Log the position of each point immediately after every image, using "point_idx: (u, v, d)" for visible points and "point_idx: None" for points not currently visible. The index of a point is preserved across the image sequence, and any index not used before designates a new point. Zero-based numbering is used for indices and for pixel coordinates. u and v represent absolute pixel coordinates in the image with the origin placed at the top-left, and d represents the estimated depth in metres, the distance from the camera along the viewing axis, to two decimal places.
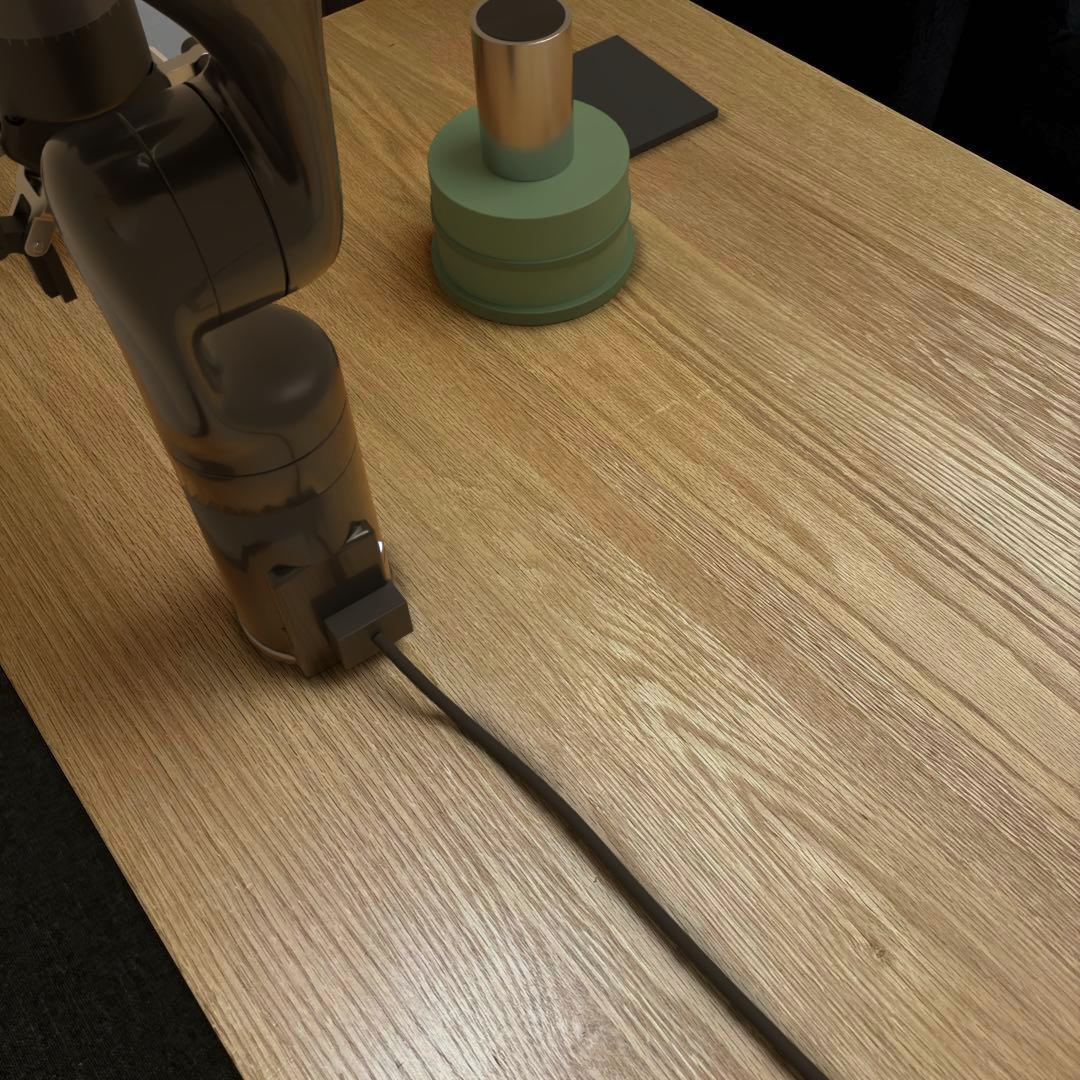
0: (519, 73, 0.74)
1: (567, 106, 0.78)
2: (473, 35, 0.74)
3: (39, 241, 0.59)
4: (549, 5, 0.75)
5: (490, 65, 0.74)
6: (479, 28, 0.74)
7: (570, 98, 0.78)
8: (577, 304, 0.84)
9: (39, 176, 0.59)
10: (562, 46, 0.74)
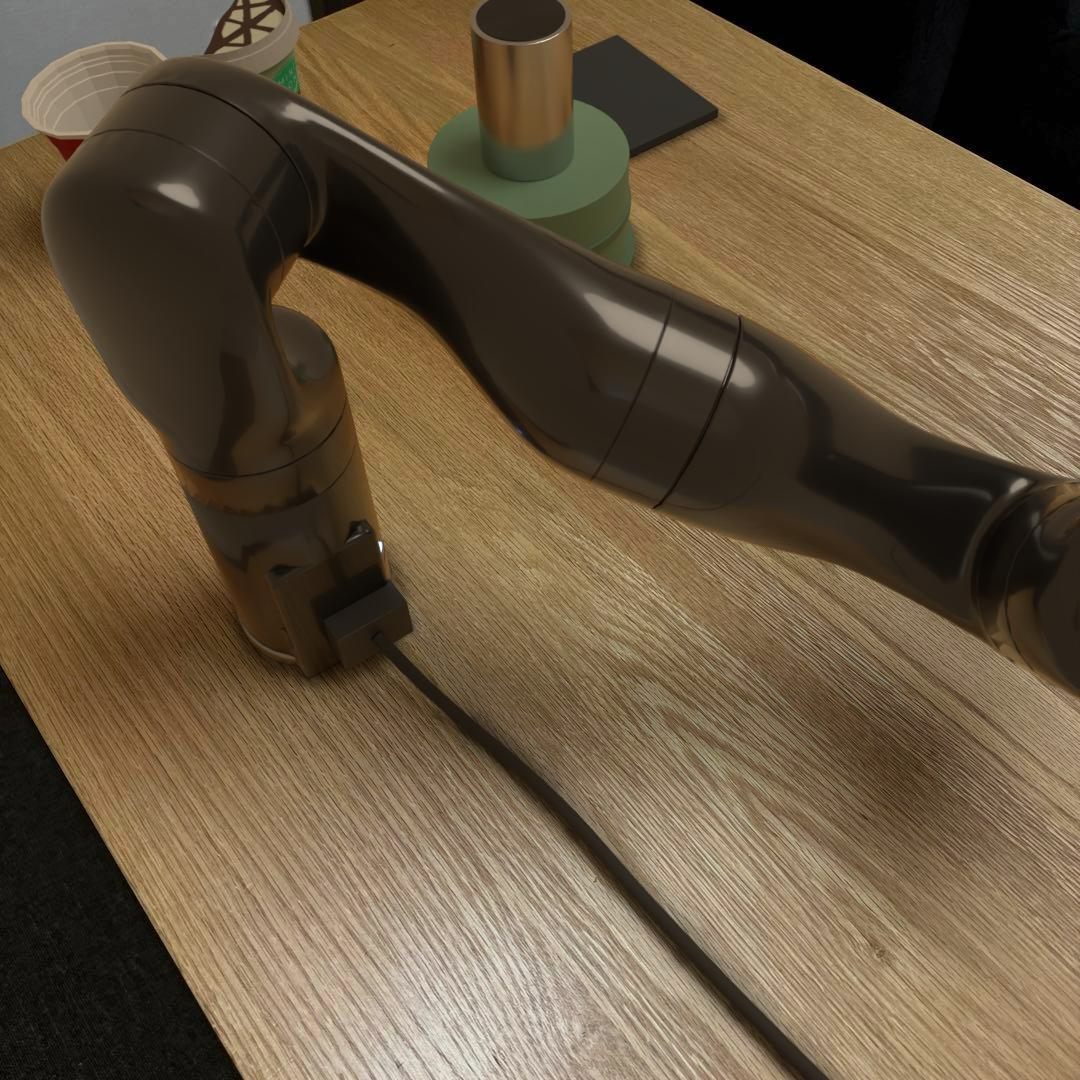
0: (519, 73, 0.74)
1: (567, 106, 0.78)
2: (473, 35, 0.74)
3: None
4: (549, 5, 0.75)
5: (490, 65, 0.74)
6: (479, 28, 0.74)
7: (570, 98, 0.78)
8: None
9: None
10: (562, 46, 0.74)
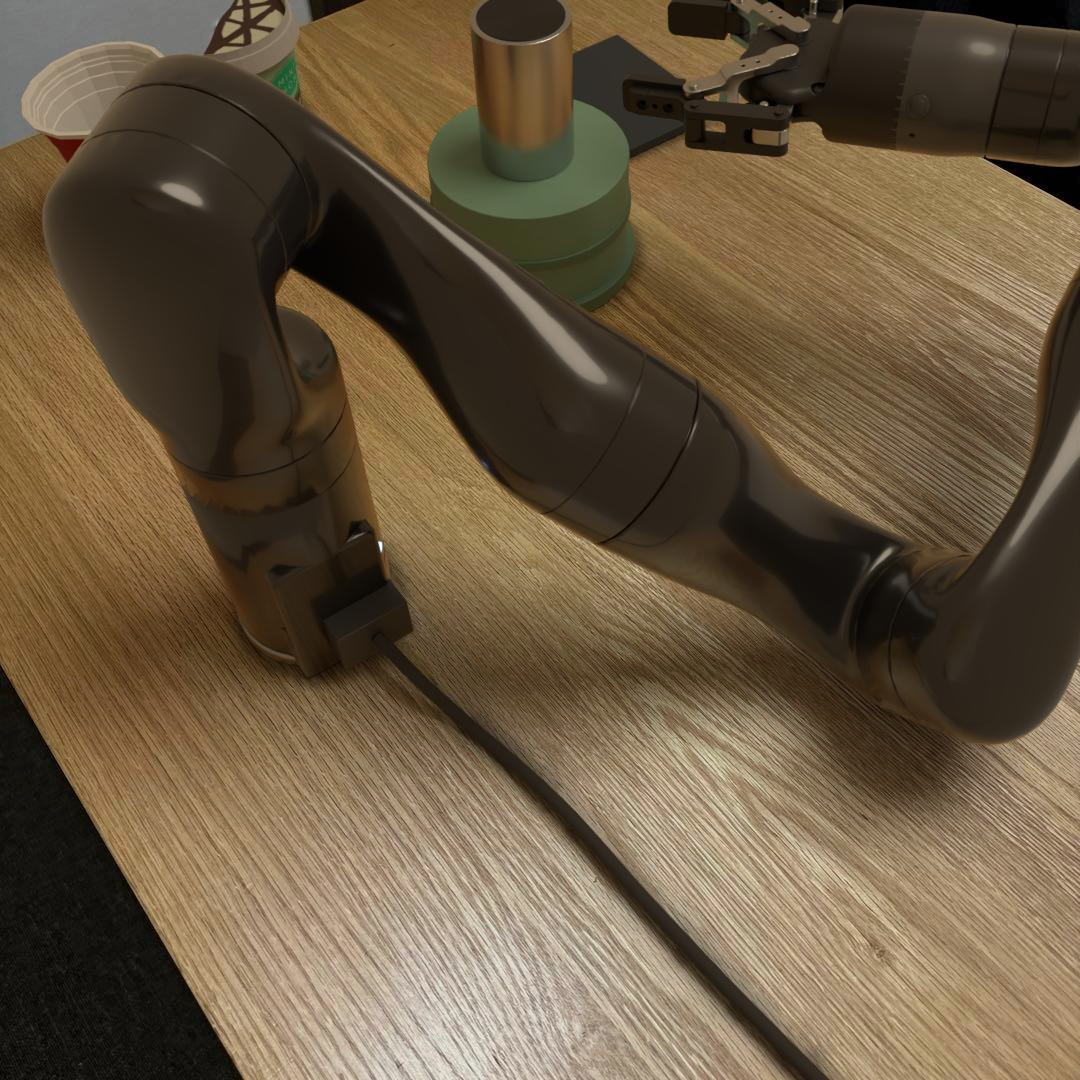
0: (519, 73, 0.74)
1: (567, 106, 0.78)
2: (473, 35, 0.74)
3: None
4: (549, 5, 0.75)
5: (490, 65, 0.74)
6: (479, 28, 0.74)
7: (570, 98, 0.78)
8: (577, 304, 0.84)
9: None
10: (562, 46, 0.74)
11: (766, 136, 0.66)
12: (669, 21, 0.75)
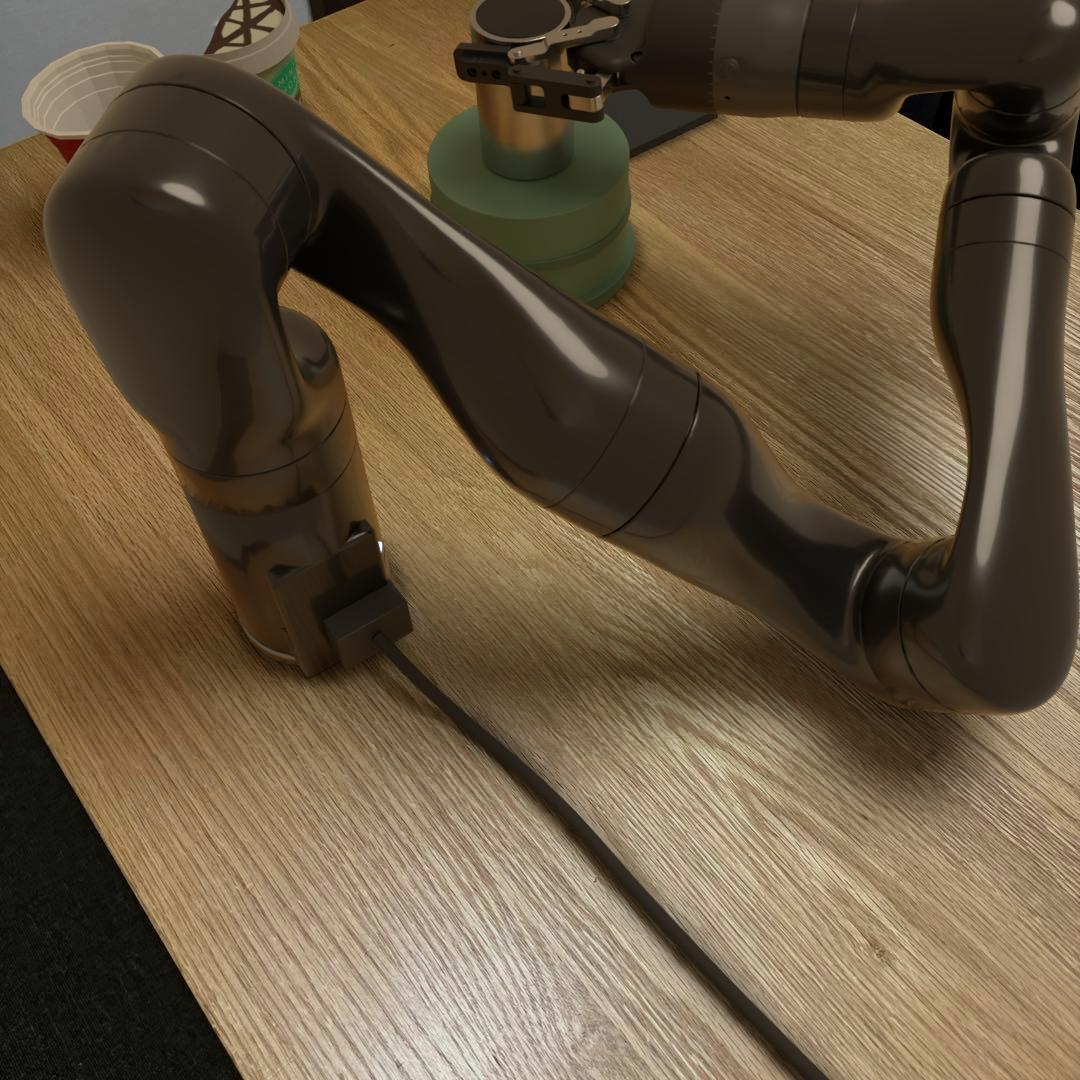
0: None
1: None
2: (473, 32, 0.74)
3: None
4: (549, 3, 0.75)
5: None
6: (479, 25, 0.74)
7: None
8: None
9: None
10: None
11: (580, 102, 0.70)
12: None
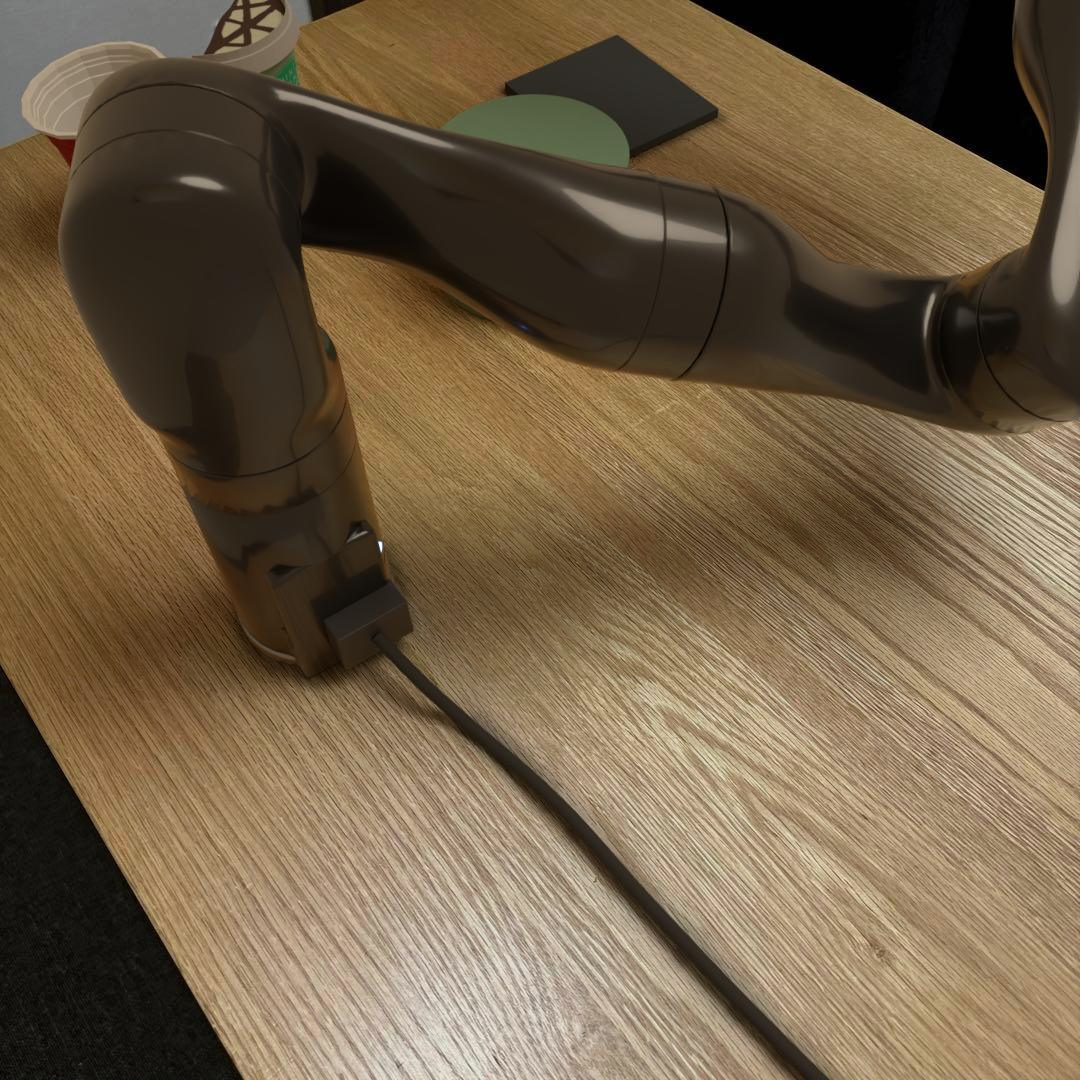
0: None
1: None
2: None
3: None
4: None
5: None
6: None
7: None
8: None
9: None
10: None
11: None
12: None
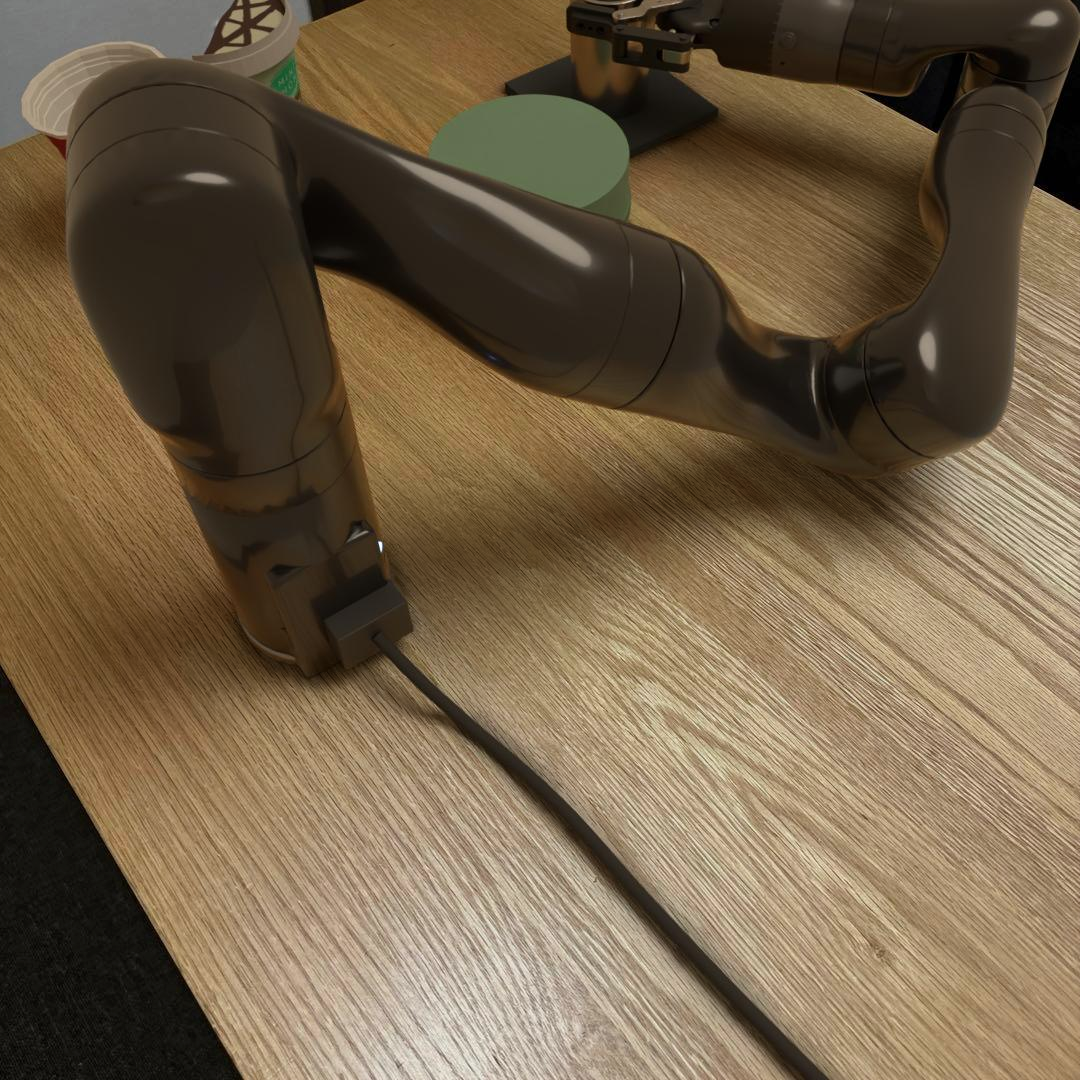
0: None
1: None
2: None
3: None
4: None
5: None
6: None
7: None
8: None
9: None
10: None
11: (673, 56, 0.87)
12: None
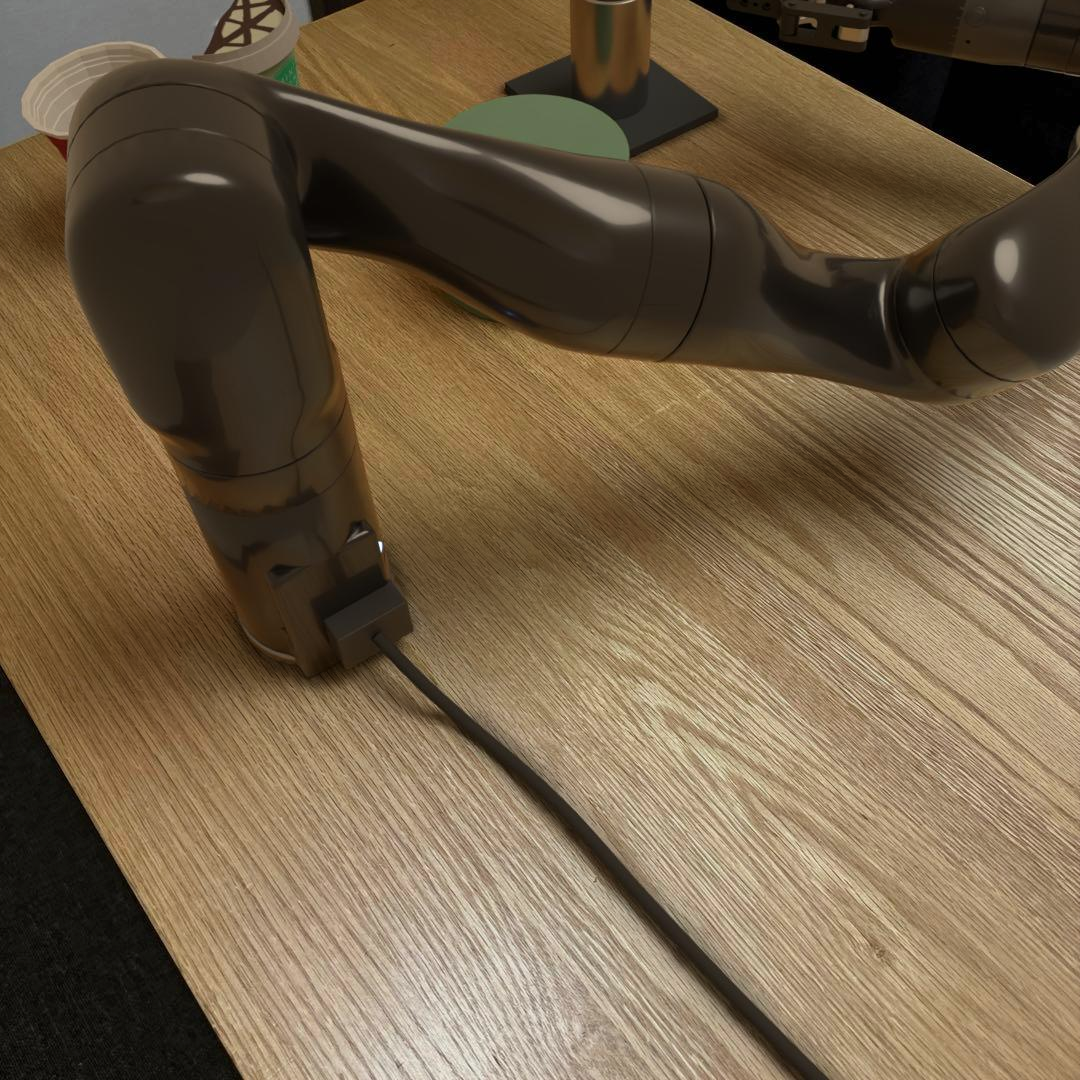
0: (607, 28, 0.91)
1: (644, 57, 0.95)
2: None
3: None
4: None
5: (584, 20, 0.92)
6: None
7: (647, 51, 0.95)
8: None
9: None
10: (644, 6, 0.91)
11: (850, 33, 0.80)
12: None
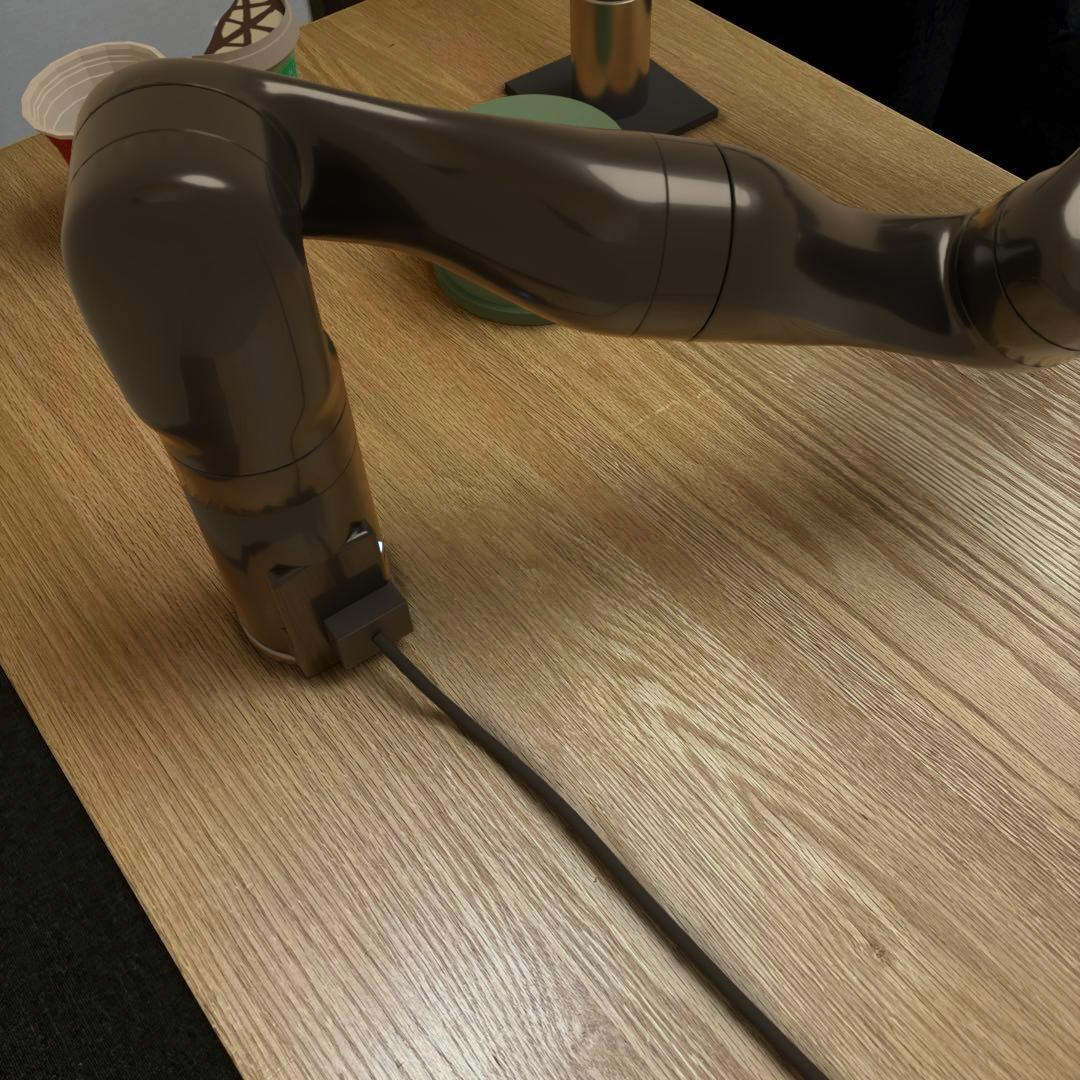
0: (607, 28, 0.91)
1: (644, 57, 0.95)
2: None
3: None
4: None
5: (584, 20, 0.92)
6: None
7: (647, 51, 0.95)
8: None
9: None
10: (644, 6, 0.91)
11: None
12: None
